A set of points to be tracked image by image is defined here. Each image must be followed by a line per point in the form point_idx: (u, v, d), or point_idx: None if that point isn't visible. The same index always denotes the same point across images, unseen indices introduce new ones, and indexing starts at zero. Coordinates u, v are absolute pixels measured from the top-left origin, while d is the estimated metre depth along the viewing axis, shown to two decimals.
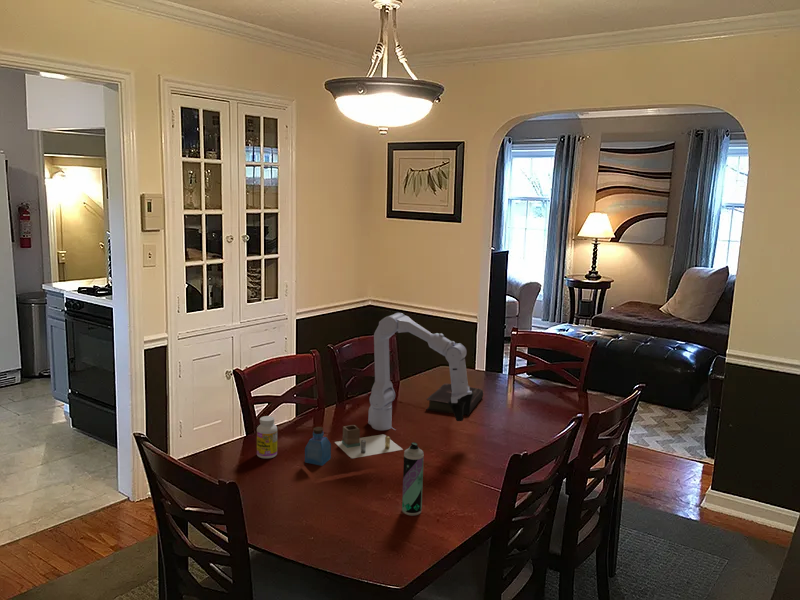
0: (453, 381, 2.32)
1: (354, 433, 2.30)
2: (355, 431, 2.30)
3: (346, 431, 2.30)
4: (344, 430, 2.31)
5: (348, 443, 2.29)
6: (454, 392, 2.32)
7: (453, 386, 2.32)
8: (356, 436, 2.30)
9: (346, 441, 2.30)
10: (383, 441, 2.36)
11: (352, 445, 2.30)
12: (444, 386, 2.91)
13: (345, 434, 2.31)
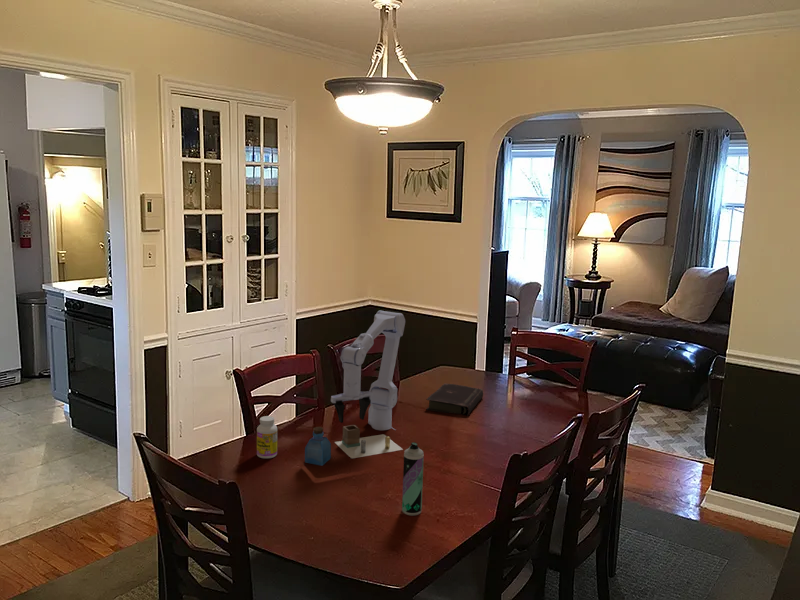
0: None
1: (354, 433, 2.30)
2: (355, 431, 2.30)
3: (346, 431, 2.30)
4: (344, 430, 2.31)
5: (348, 443, 2.29)
6: (343, 393, 2.29)
7: None
8: (356, 436, 2.30)
9: (346, 441, 2.30)
10: (383, 441, 2.36)
11: (352, 445, 2.30)
12: (444, 386, 2.91)
13: (345, 434, 2.31)
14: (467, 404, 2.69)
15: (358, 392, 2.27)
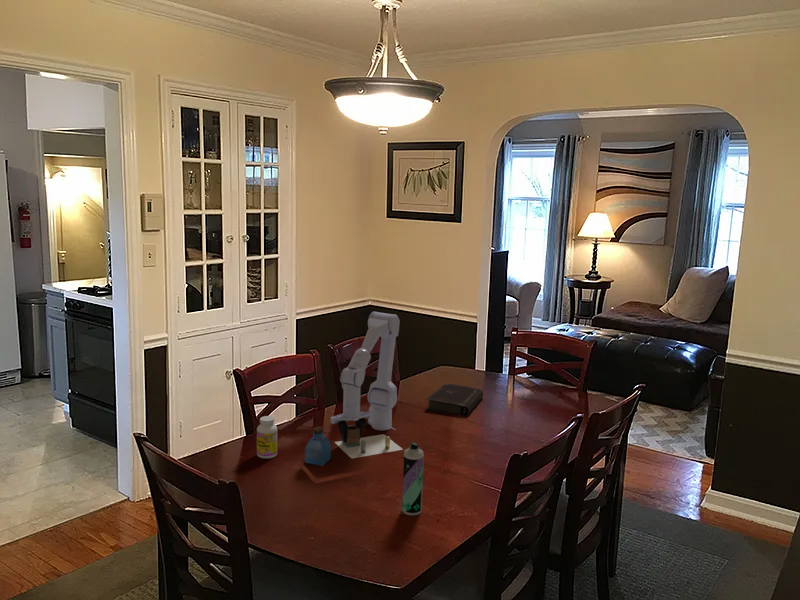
0: None
1: (354, 433, 2.30)
2: (355, 431, 2.30)
3: None
4: None
5: (348, 443, 2.29)
6: (343, 413, 2.30)
7: (343, 407, 2.30)
8: (356, 436, 2.30)
9: (346, 441, 2.30)
10: (383, 441, 2.36)
11: (352, 445, 2.30)
12: (444, 386, 2.91)
13: None
14: (467, 404, 2.69)
15: (358, 413, 2.29)
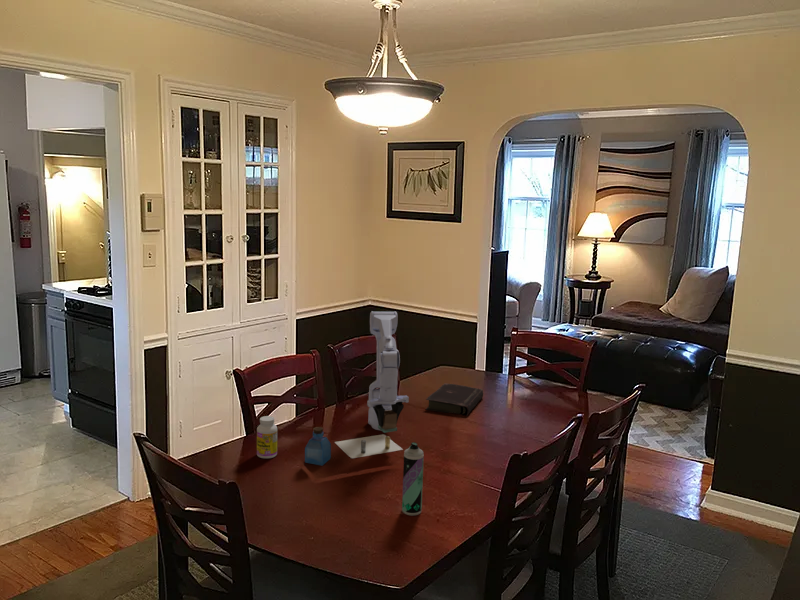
0: (380, 386, 2.26)
1: (391, 418, 2.26)
2: (392, 416, 2.26)
3: None
4: None
5: (385, 428, 2.26)
6: (379, 397, 2.27)
7: (380, 391, 2.27)
8: (393, 421, 2.27)
9: (383, 426, 2.26)
10: (383, 441, 2.36)
11: (389, 430, 2.26)
12: (444, 386, 2.91)
13: None
14: (467, 404, 2.69)
15: (395, 396, 2.25)
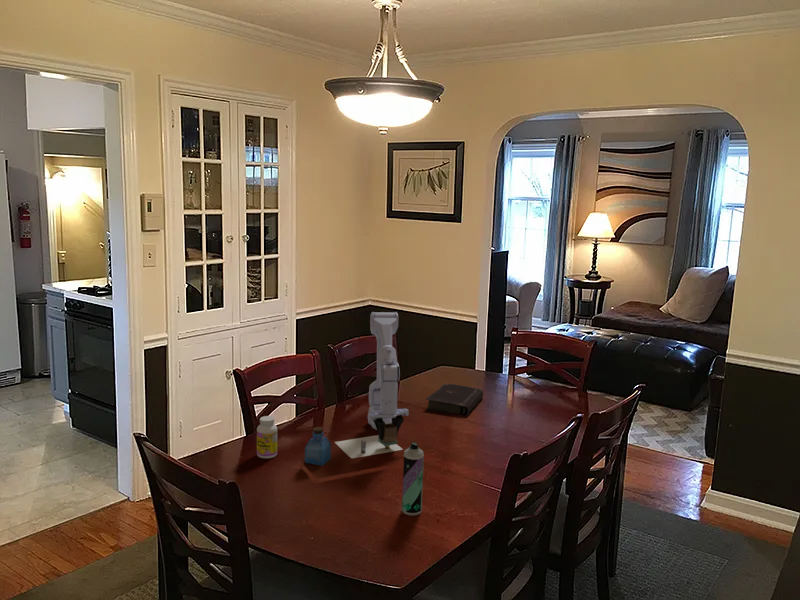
0: (380, 399, 2.27)
1: (391, 431, 2.27)
2: (392, 429, 2.27)
3: None
4: None
5: (385, 441, 2.27)
6: (380, 410, 2.28)
7: (380, 404, 2.27)
8: (393, 434, 2.28)
9: (383, 439, 2.27)
10: None
11: (389, 443, 2.27)
12: (444, 386, 2.91)
13: None
14: (466, 404, 2.69)
15: (395, 410, 2.26)
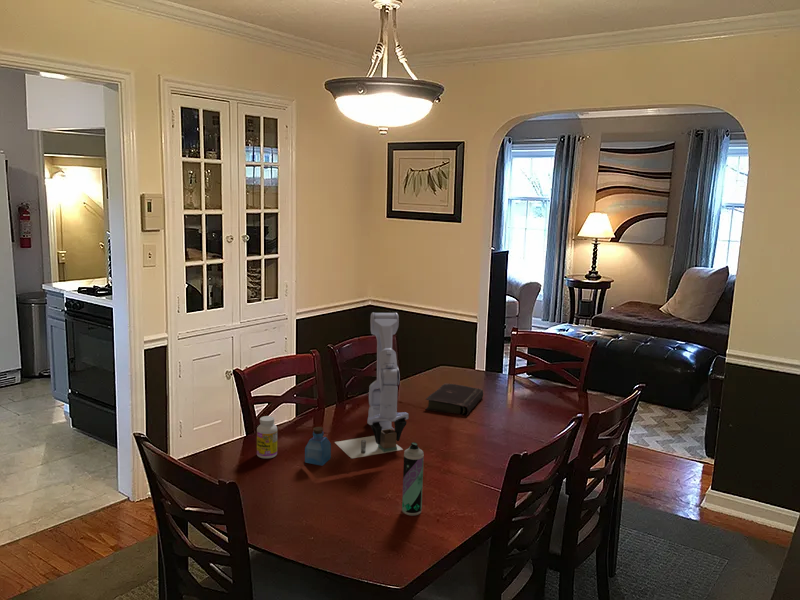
0: (380, 403, 2.27)
1: (391, 437, 2.27)
2: (392, 435, 2.27)
3: (382, 435, 2.28)
4: (381, 434, 2.29)
5: (385, 447, 2.27)
6: (379, 414, 2.28)
7: (380, 408, 2.28)
8: (393, 440, 2.28)
9: (383, 445, 2.28)
10: None
11: (389, 449, 2.28)
12: (444, 386, 2.91)
13: (382, 438, 2.28)
14: (466, 404, 2.69)
15: (395, 414, 2.26)
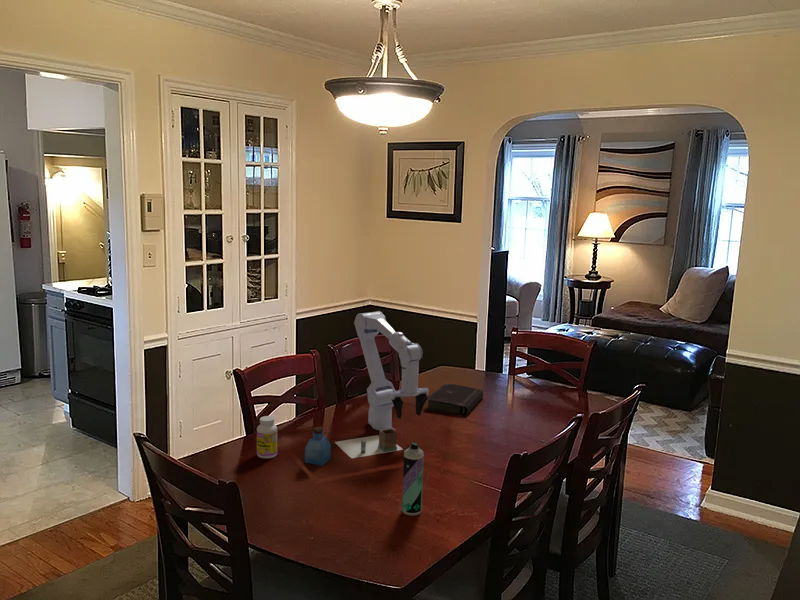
0: None
1: (391, 437, 2.27)
2: (392, 435, 2.27)
3: (382, 435, 2.28)
4: (381, 434, 2.29)
5: (385, 447, 2.27)
6: (401, 389, 2.35)
7: None
8: (393, 440, 2.28)
9: (383, 445, 2.28)
10: None
11: (389, 449, 2.28)
12: (444, 386, 2.91)
13: (382, 438, 2.28)
14: (466, 404, 2.69)
15: (416, 389, 2.33)
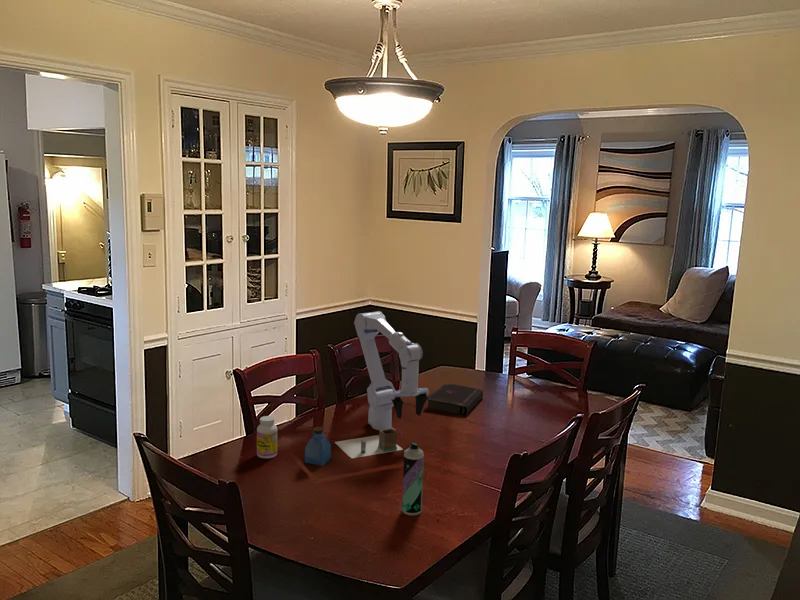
0: None
1: (391, 437, 2.27)
2: (392, 435, 2.27)
3: (382, 435, 2.28)
4: (381, 434, 2.29)
5: (385, 447, 2.27)
6: (401, 389, 2.35)
7: None
8: (393, 440, 2.28)
9: (383, 445, 2.28)
10: None
11: (389, 449, 2.28)
12: (444, 386, 2.91)
13: (382, 438, 2.28)
14: (466, 404, 2.69)
15: (416, 389, 2.33)
